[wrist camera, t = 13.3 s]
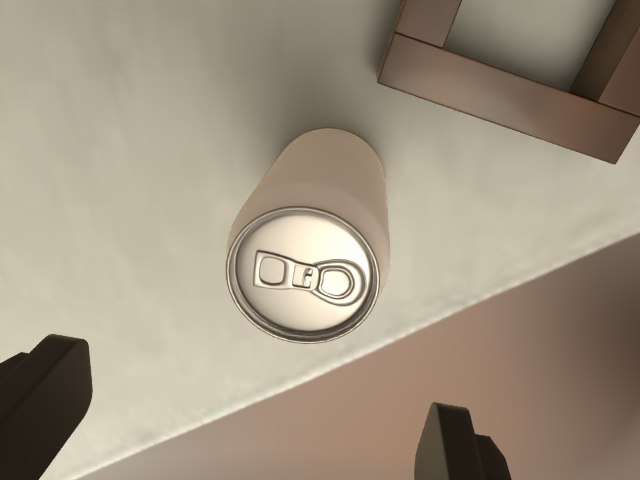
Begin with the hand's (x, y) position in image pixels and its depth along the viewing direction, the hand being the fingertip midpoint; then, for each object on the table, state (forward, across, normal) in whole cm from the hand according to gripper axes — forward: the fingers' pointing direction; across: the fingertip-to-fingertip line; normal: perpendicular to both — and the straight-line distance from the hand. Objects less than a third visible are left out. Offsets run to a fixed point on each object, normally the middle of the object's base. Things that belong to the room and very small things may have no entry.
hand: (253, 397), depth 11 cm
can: (+19, 0, +1) cm, 19 cm away
